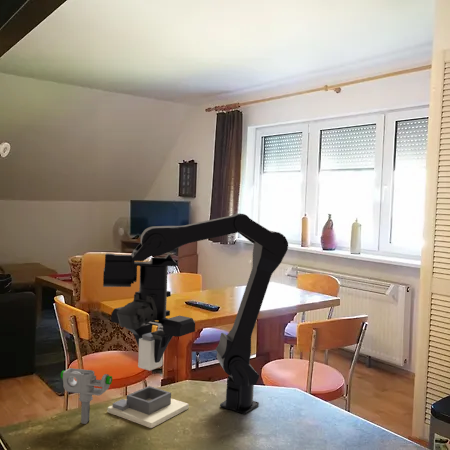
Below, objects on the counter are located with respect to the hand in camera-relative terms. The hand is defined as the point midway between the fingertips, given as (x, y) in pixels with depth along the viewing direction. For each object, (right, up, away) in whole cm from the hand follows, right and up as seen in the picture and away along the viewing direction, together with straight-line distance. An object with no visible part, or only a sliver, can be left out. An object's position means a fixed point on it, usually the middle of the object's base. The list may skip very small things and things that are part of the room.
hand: (150, 360), depth 106 cm
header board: (-1, -11, +1) cm, 11 cm away
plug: (0, -1, 0) cm, 1 cm away
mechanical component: (-12, -11, -6) cm, 17 cm away
